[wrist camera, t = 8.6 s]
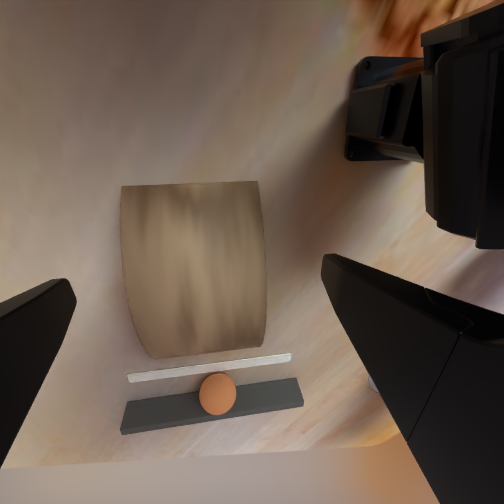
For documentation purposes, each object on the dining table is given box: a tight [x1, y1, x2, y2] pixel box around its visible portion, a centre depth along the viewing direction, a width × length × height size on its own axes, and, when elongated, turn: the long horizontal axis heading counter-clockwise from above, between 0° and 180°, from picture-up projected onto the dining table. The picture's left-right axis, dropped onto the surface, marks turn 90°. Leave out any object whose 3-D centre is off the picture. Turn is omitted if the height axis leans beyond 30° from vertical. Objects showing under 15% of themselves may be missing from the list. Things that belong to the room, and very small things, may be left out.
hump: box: [120, 181, 267, 359], centre depth 29 cm, size 10×22×22 cm, turn 1°
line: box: [127, 353, 291, 383], centre depth 29 cm, size 18×1×1 cm, turn 91°
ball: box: [199, 373, 236, 415], centre depth 28 cm, size 4×4×4 cm
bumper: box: [120, 378, 304, 435], centre depth 29 cm, size 20×1×3 cm, turn 91°
